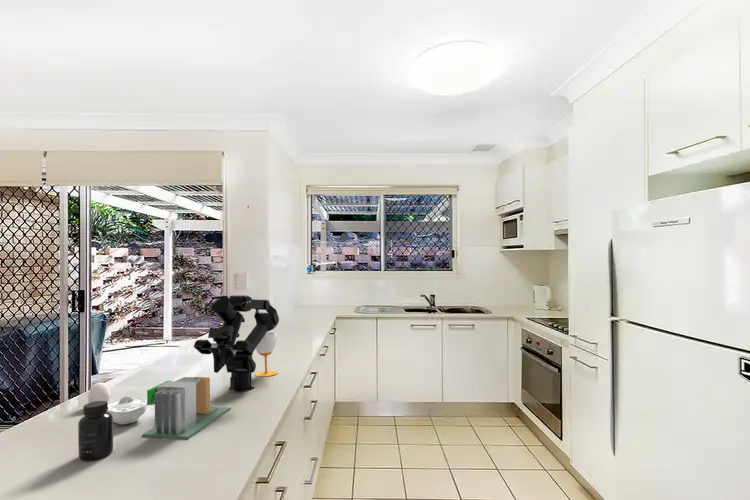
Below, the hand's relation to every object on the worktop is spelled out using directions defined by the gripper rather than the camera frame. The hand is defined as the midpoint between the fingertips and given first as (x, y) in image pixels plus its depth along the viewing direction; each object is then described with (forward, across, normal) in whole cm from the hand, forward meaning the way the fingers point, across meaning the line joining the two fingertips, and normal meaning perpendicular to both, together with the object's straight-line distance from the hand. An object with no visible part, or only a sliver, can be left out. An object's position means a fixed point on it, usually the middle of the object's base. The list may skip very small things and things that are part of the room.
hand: (215, 372), depth 134 cm
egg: (+12, -36, +1) cm, 38 cm away
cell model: (+19, -18, -7) cm, 27 cm away
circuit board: (+17, +1, -5) cm, 18 cm away
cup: (-14, 0, +36) cm, 39 cm away
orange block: (+13, 0, -2) cm, 13 cm away
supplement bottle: (+30, -9, -23) cm, 39 cm away
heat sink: (+17, +1, -5) cm, 18 cm away
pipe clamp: (+6, -21, +9) cm, 24 cm away
